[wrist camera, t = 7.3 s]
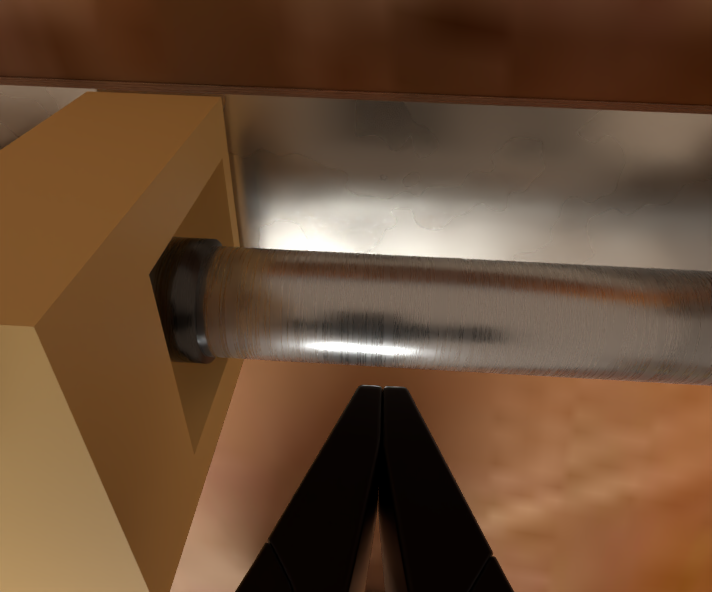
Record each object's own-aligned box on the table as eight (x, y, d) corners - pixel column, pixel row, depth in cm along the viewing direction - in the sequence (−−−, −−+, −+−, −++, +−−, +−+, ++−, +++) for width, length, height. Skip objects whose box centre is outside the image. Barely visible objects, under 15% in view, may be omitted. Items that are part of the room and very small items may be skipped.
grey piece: (922, 114, 12) (1175, 226, 8) (770, 348, 16) (889, 495, 12) (-127, 71, 13) (-356, 154, 9) (-14, 304, 17) (-136, 431, 13)
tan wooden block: (221, 97, 12) (33, 327, 6) (251, 337, 16) (160, 618, 10) (87, 91, 12) (-239, 310, 6) (151, 331, 16) (1, 606, 10)
